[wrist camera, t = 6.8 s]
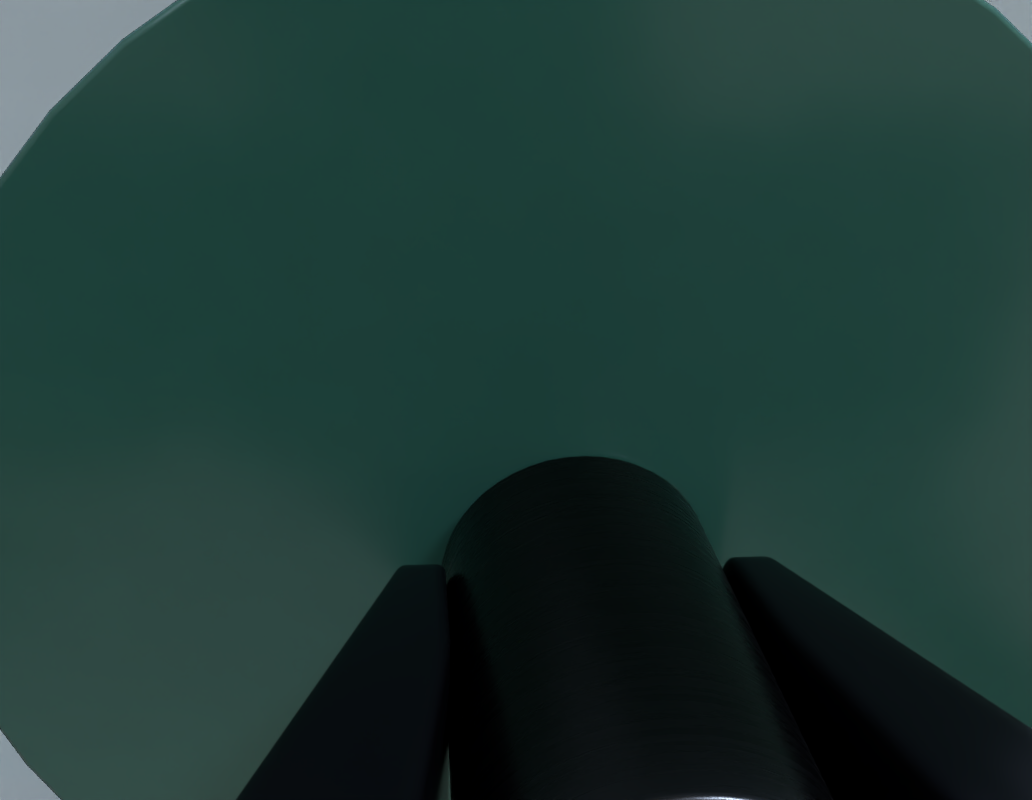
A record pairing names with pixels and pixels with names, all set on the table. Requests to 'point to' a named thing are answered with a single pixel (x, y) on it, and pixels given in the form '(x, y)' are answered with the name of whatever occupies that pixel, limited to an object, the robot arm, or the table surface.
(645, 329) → the lid
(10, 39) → the table surface
